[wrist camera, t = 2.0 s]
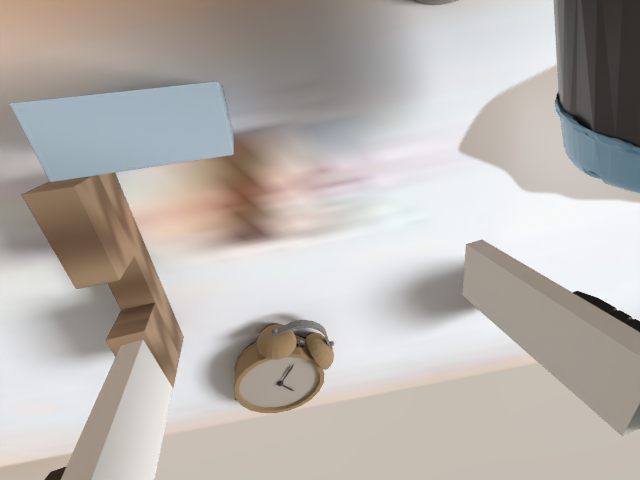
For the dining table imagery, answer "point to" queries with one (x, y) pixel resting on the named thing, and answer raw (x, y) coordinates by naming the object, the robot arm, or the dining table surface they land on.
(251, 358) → the alarm clock
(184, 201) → the dining table surface
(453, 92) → the dining table surface
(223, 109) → the slotted blue block
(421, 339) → the dining table surface
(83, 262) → the walnut rail
